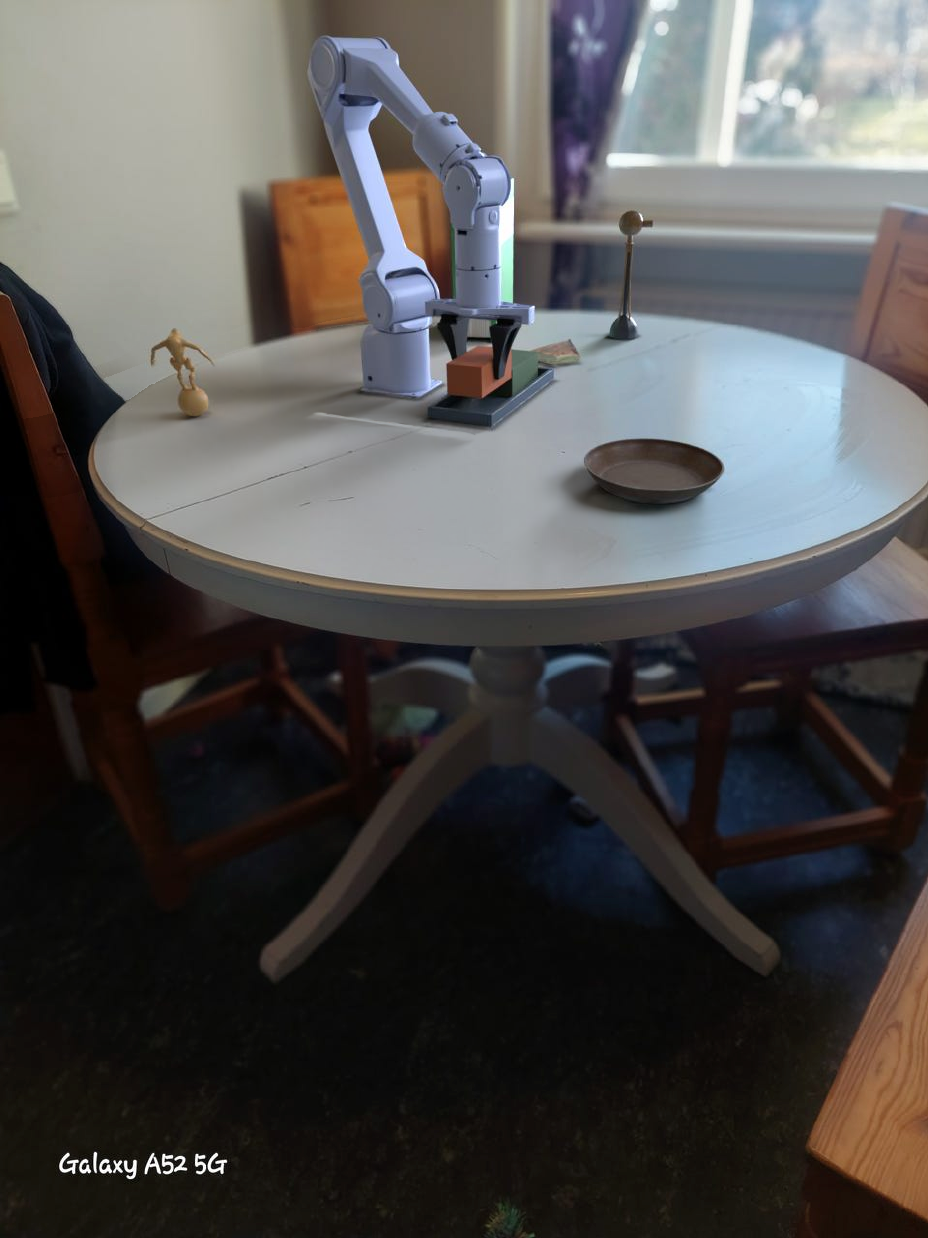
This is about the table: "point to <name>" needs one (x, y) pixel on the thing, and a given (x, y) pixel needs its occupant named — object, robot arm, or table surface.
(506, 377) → the reddish orange rectangular block
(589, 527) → the table surface
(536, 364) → the rear pad
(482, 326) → the hardback book
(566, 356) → the tan flat wedge
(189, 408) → the figurine
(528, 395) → the tray
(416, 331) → the robot arm
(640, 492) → the saucer
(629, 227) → the ball topped stand
